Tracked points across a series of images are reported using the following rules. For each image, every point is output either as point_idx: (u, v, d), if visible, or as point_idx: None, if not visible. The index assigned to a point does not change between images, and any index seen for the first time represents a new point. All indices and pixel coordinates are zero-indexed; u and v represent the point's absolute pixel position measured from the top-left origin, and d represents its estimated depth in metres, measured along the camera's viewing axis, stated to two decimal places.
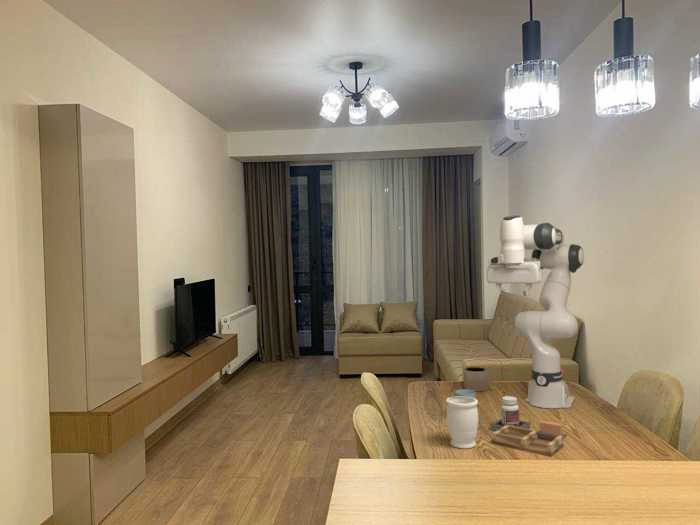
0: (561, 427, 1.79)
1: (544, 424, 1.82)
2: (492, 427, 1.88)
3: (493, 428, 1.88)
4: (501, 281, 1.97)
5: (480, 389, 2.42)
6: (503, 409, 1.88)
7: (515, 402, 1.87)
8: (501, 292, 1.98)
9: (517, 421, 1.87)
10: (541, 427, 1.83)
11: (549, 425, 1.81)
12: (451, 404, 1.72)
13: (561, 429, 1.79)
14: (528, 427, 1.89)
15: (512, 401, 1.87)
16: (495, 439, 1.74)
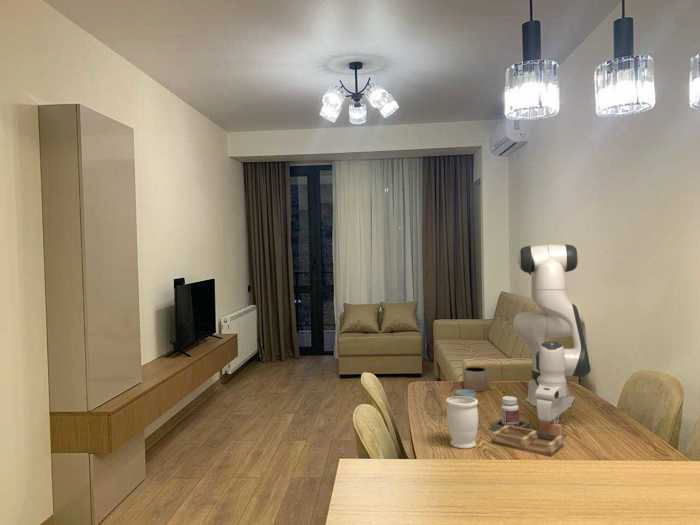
0: (560, 428, 1.79)
1: (543, 425, 1.81)
2: (492, 427, 1.88)
3: (493, 428, 1.88)
4: (554, 416, 1.79)
5: (480, 389, 2.42)
6: (503, 409, 1.88)
7: (515, 402, 1.87)
8: None
9: (517, 421, 1.87)
10: (540, 428, 1.82)
11: (548, 426, 1.80)
12: (451, 404, 1.72)
13: (560, 430, 1.79)
14: (528, 427, 1.89)
15: (512, 401, 1.87)
16: (495, 439, 1.74)
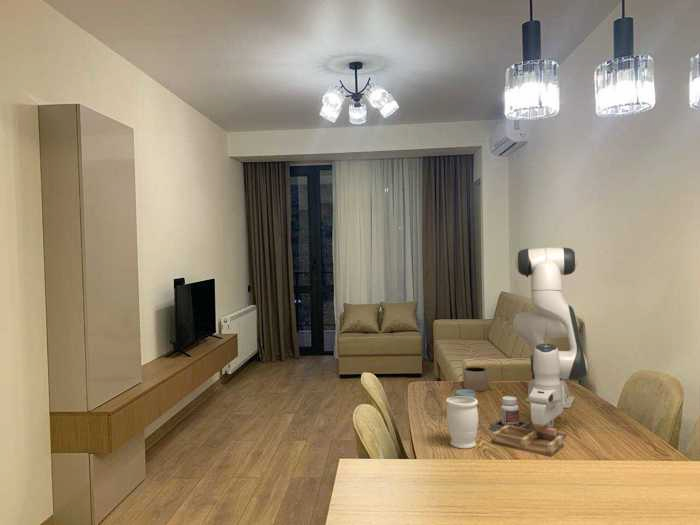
0: (555, 432, 1.75)
1: (537, 429, 1.77)
2: (492, 427, 1.88)
3: (493, 428, 1.88)
4: (549, 420, 1.75)
5: (480, 389, 2.42)
6: (503, 409, 1.88)
7: (515, 402, 1.87)
8: None
9: (517, 421, 1.87)
10: None
11: (542, 430, 1.76)
12: (451, 404, 1.72)
13: (555, 434, 1.75)
14: (528, 427, 1.89)
15: (512, 401, 1.87)
16: (495, 439, 1.74)
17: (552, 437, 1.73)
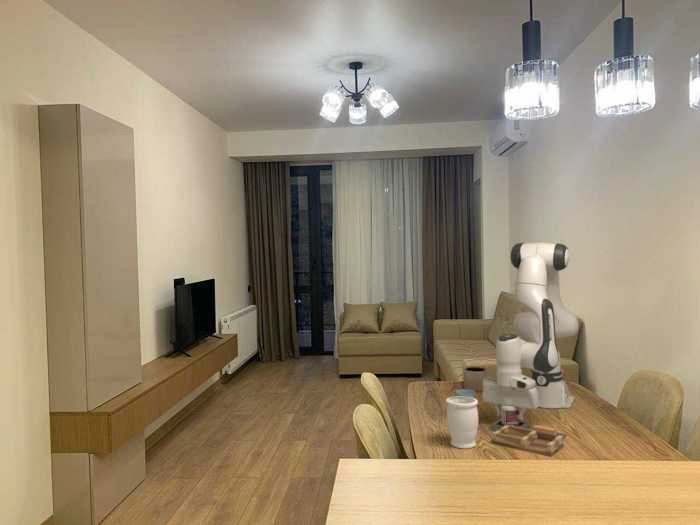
0: (555, 432, 1.75)
1: (537, 429, 1.77)
2: (492, 427, 1.88)
3: (493, 428, 1.88)
4: None
5: (480, 389, 2.42)
6: (503, 409, 1.88)
7: None
8: None
9: (517, 421, 1.87)
10: None
11: (542, 430, 1.76)
12: (451, 404, 1.72)
13: (555, 434, 1.75)
14: (528, 427, 1.89)
15: None
16: (495, 439, 1.74)
17: (552, 437, 1.73)
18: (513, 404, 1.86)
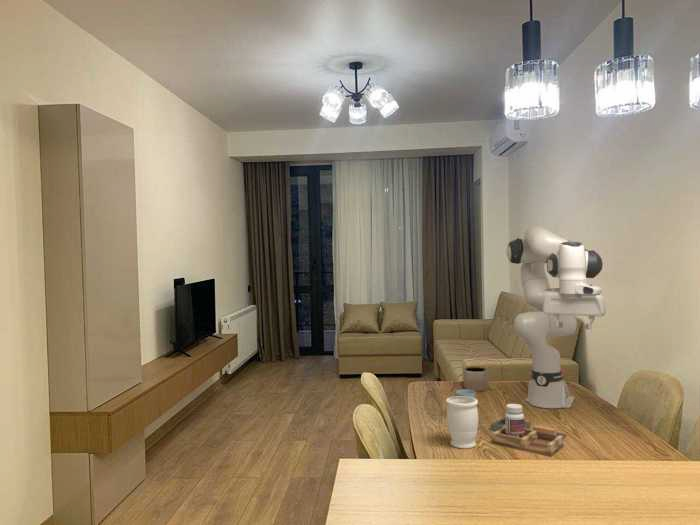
0: (555, 432, 1.75)
1: (537, 429, 1.77)
2: (492, 427, 1.88)
3: (493, 428, 1.88)
4: None
5: (480, 389, 2.42)
6: (507, 418, 1.74)
7: (520, 410, 1.74)
8: None
9: (522, 431, 1.73)
10: None
11: (542, 430, 1.76)
12: (451, 404, 1.72)
13: (555, 434, 1.75)
14: (528, 427, 1.89)
15: (517, 409, 1.73)
16: (495, 439, 1.74)
17: (552, 437, 1.73)
18: (578, 313, 1.78)
